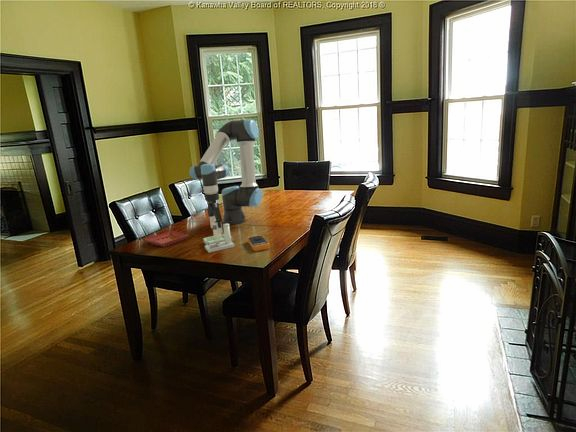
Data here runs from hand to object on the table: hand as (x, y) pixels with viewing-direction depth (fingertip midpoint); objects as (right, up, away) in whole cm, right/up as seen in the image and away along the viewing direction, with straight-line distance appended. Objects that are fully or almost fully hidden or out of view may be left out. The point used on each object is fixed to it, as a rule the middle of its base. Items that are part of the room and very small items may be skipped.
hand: (216, 230), depth 208 cm
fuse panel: (+3, -9, -8) cm, 12 cm away
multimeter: (+24, -8, -9) cm, 27 cm away
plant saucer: (-31, -7, +12) cm, 34 cm away
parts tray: (+1, -7, +2) cm, 7 cm away
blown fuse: (+1, -6, +2) cm, 6 cm away
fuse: (+8, -8, -6) cm, 12 cm away
